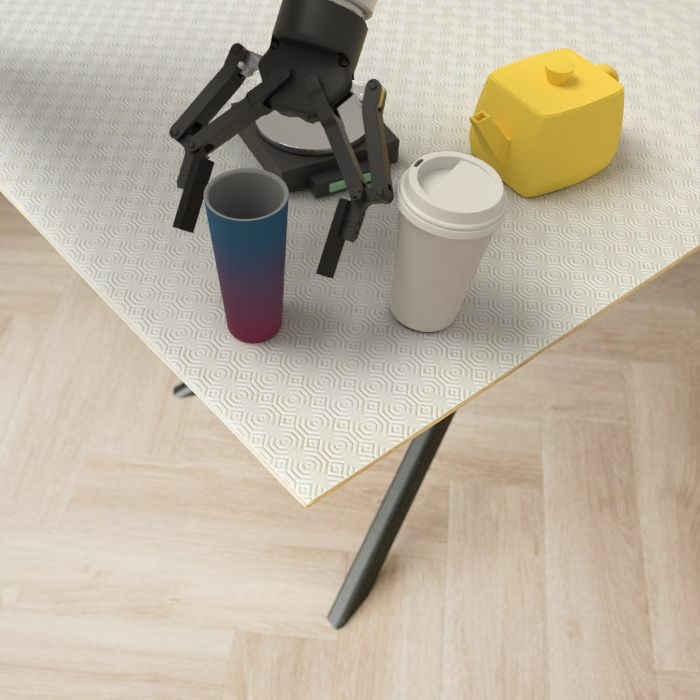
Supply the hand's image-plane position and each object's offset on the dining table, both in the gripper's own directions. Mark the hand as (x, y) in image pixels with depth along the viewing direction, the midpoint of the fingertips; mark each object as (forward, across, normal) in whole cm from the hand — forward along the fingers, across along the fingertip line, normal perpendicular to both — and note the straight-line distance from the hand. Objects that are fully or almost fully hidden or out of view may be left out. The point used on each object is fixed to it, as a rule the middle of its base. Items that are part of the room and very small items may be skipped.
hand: (251, 253), depth 78 cm
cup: (+6, 0, -6) cm, 9 cm away
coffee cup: (0, -13, -12) cm, 18 cm away
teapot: (-19, -16, -31) cm, 40 cm away
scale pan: (-16, +7, -23) cm, 29 cm away
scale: (-13, +6, -25) cm, 29 cm away
